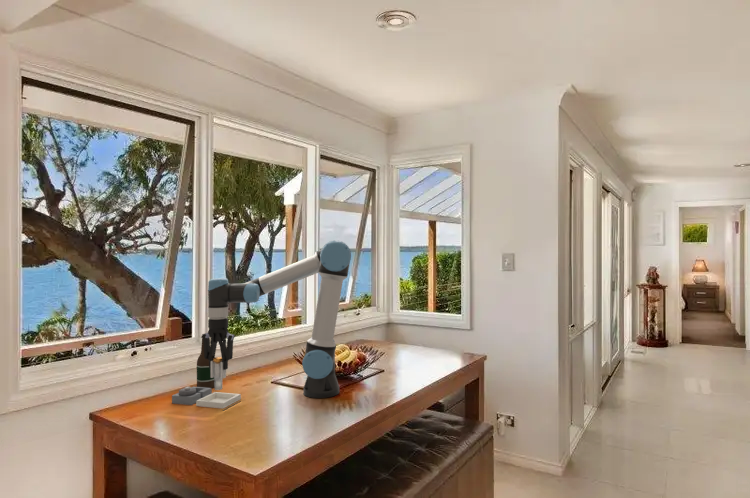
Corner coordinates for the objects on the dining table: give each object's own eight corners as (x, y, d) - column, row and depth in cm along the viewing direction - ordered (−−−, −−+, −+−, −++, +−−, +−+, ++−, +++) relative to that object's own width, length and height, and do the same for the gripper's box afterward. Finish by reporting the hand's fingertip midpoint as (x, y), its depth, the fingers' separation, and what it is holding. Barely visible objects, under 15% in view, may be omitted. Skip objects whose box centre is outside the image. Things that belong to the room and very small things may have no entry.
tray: (240, 401, 195) (240, 394, 195) (223, 411, 184) (223, 403, 184) (214, 399, 199) (214, 391, 199) (196, 408, 187) (196, 400, 187)
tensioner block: (193, 396, 203) (193, 380, 203) (211, 397, 201) (211, 381, 201) (172, 405, 191) (171, 388, 191) (191, 407, 188) (191, 390, 188)
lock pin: (225, 388, 193) (225, 357, 193) (219, 390, 189) (219, 359, 189) (217, 387, 194) (216, 356, 194) (211, 389, 190) (211, 358, 190)
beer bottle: (209, 392, 208) (208, 336, 208) (193, 391, 210) (192, 336, 210) (218, 387, 216) (218, 333, 216) (202, 386, 217) (202, 333, 217)
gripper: (242, 317, 193) (242, 376, 193) (205, 315, 197) (205, 373, 197) (231, 319, 185) (231, 381, 185) (193, 318, 190) (194, 378, 190)
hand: (218, 377), depth 191 cm, fingers closed on lock pin, 4 cm apart
